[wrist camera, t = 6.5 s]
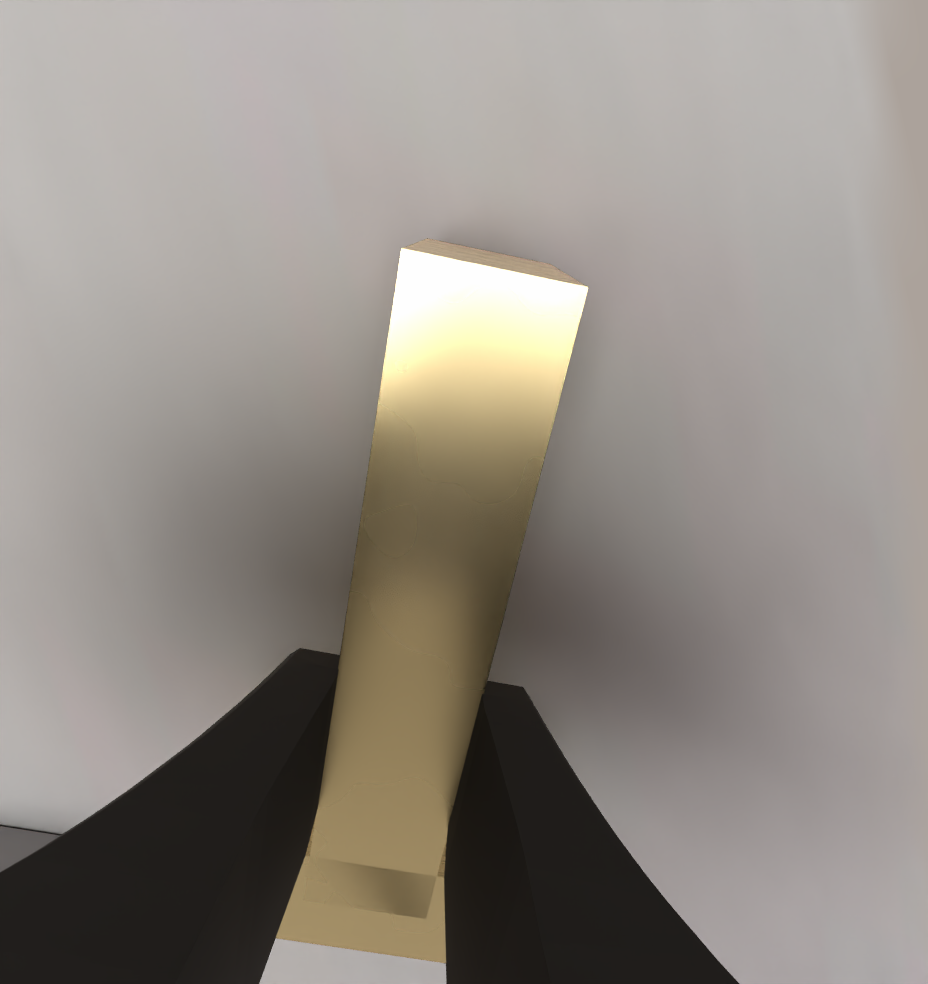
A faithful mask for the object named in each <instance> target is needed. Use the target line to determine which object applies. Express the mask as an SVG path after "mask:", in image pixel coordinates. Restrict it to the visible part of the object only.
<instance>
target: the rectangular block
mask: <svg viewBox="0 0 928 984" xmlns="http://www.w3.org/2000/svg"><path fill="white" fill-rule="evenodd" d="M587 291H588V287H587V286H585V285H584V284H582V283H580V282H579V281H577V280H575V279H574V278H572V277H570V276H569V275H567V274H565V273H564V272H562V271H560V270H559V269H557V268H556V267H554V266H552V265H551V264H547V263H542V262H538V261H533V260H528V259H523V258H519V257H514V256H509V255H504V254H500V253H495V252H490V251H485V250H481V249H476V248H471V247H466V246H461V245H457V244H452V243H447V242H442V241H438V240H433V239H428V238H427V239H425V240H422V241H420V242H417V243H414V244H412V245H409V246H406V247H404V248H401V255H400V261H399V268H398V274H397V281H396V288H395V294H394V301H393V308H392V314H391V321H390V327H389V334H388V341H387V347H386V354H385V361H384V367H383V374H382V380H381V387H380V394H379V400H378V407H377V414H376V420H375V427H374V433H373V440H372V447H371V453H370V460H369V467H368V473H367V480H366V486H365V493H364V500H363V506H362V513H361V520H360V526H359V533H358V539H357V546H356V553H355V559H354V566H353V573H352V579H351V586H350V592H349V599H348V606H347V612H346V619H345V626H344V632H343V639H342V645H341V652H340V659H339V665H338V669H339V671H338V678H337V684H336V691H335V698H334V704H333V711H332V717H331V724H330V731H329V737H328V744H327V750H326V757H325V764H324V770H323V777H322V783H321V790H320V797H319V803H318V809H317V813H316V817H315V821H314V825H313V829H312V832H311V836H310V840H309V844H308V848H307V852H306V855H305V858H304V861H303V864H302V866H301V869H300V872H299V875H298V878H297V880H296V883H295V886H294V889H293V891H292V894H291V897H290V900H289V903H288V905H287V908H286V911H285V914H284V916H283V919H282V922H281V925H280V927H279V930H278V933H277V936H276V938H278V939H285V940H292V941H298V942H305V943H312V944H319V945H326V946H332V947H339V948H346V949H353V950H360V951H366V952H373V953H380V954H387V955H394V956H400V957H407V958H414V959H421V960H427V961H434V962H441V963H446V942H445V900H444V870H445V856H446V843H447V831H448V825H449V821H450V817H451V813H452V810H453V806H454V802H455V798H456V794H457V790H458V786H459V782H460V778H461V774H462V771H463V767H464V763H465V759H466V755H467V751H468V747H469V743H470V739H471V735H472V731H473V728H474V724H475V720H476V716H477V712H478V708H479V704H480V700H481V696H482V694H484V691H485V687H486V684H487V680H488V676H489V672H490V668H491V664H492V660H493V656H494V652H495V649H496V645H497V641H498V637H499V633H500V629H501V625H502V621H503V617H504V614H505V610H506V606H507V602H508V598H509V594H510V590H511V586H512V582H513V579H514V575H515V571H516V567H517V563H518V559H519V555H520V551H521V547H522V544H523V540H524V536H525V532H526V528H527V524H528V520H529V516H530V512H531V509H532V505H533V501H534V497H535V493H536V489H537V485H538V481H539V477H540V474H541V470H542V466H543V462H544V458H545V454H546V450H547V446H548V442H549V439H550V435H551V431H552V427H553V423H554V419H555V415H556V411H557V407H558V404H559V400H560V396H561V392H562V388H563V384H564V380H565V376H566V372H567V368H568V365H569V361H570V357H571V353H572V349H573V345H574V341H575V337H576V333H577V330H578V326H579V322H580V318H581V314H582V310H583V306H584V302H585V298H586V295H587Z"/></svg>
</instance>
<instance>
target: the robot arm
mask: <svg viewBox="0 0 928 984" xmlns="http://www.w3.org/2000/svg"><path fill="white" fill-rule="evenodd" d="M339 659H340V655H335V654H330V653H324V652H318V651H312V650H307V649H301V648H300V649H298V650H296V651H295V652H293V653H292V654H290V655H289V656H288V657H287V658H286V659H285V660H284V661H283V662H282V663H281V664H280V665H279V666H278V667H277V668H276V669H275V670H274V671H273V672H272V673H271V674H270V675H269V676H268V677H267V678H266V679H265V680H263V681H262V682H261V683H260V684H259V685H258V686H257V687H256V688H255V689H254V690H253V691H252V692H250V693H249V694H248V695H247V696H246V697H245V698H244V699H243V700H242V701H240V702H239V703H238V704H237V705H236V706H235V707H234V708H232V709H231V710H230V711H229V712H228V713H226V714H225V715H224V716H223V717H222V718H220V719H219V720H218V721H217V722H216V723H215V724H213V725H212V726H211V727H210V728H209V729H207V730H206V731H205V732H204V733H203V734H202V735H200V736H199V737H198V738H197V739H195V740H194V741H193V742H192V743H190V744H189V745H188V746H187V747H185V748H184V749H183V750H181V751H180V752H179V753H177V754H176V755H175V756H173V757H172V758H171V759H169V760H168V761H167V762H165V763H164V764H163V765H161V766H160V767H159V768H157V769H156V770H155V771H153V772H152V773H151V774H149V775H148V776H147V777H145V778H144V779H143V780H142V781H140V782H139V783H138V784H136V785H135V786H133V787H132V788H131V789H129V790H128V791H126V792H125V793H124V794H122V795H121V796H119V797H118V798H116V799H115V800H113V801H112V802H111V803H109V804H108V805H106V806H105V807H103V808H102V809H100V810H99V811H97V812H96V813H94V814H93V815H91V816H90V817H88V818H87V819H85V820H84V821H82V822H81V823H79V824H78V825H76V826H75V827H73V828H71V829H70V830H68V831H67V832H65V833H64V834H62V835H60V836H59V837H57V838H56V839H54V840H53V841H51V842H50V843H48V844H46V845H45V846H43V847H42V848H40V849H38V850H37V851H35V852H33V853H32V854H30V855H28V856H27V857H25V858H23V859H22V860H20V861H18V862H16V863H15V864H13V865H11V866H10V867H8V868H6V869H4V870H3V871H1V872H0V984H259V982H260V979H261V977H262V974H263V971H264V968H265V966H266V963H267V960H268V957H269V955H270V952H271V949H272V946H273V944H274V941H275V938H276V936H277V933H278V930H279V927H280V925H281V922H282V919H283V916H284V914H285V911H286V908H287V905H288V903H289V900H290V897H291V894H292V891H293V889H294V886H295V883H296V880H297V878H298V875H299V872H300V869H301V866H302V864H303V861H304V858H305V855H306V852H307V848H308V844H309V840H310V836H311V832H312V829H313V825H314V821H315V817H316V813H317V809H318V803H319V797H320V790H321V783H322V777H323V770H324V764H325V757H326V750H327V744H328V737H329V731H330V724H331V717H332V711H333V704H334V698H335V691H336V684H337V678H338V671H339V669H338V665H339ZM444 900H445V942H446V978H447V984H739V983H738V982H737V981H736V980H735V979H734V977H733V976H732V975H731V974H730V973H729V972H728V971H727V970H726V969H725V968H724V967H723V966H722V964H721V963H720V962H719V961H718V960H717V959H716V958H715V957H714V955H713V954H712V953H711V952H710V951H709V950H708V948H707V947H706V946H705V945H704V944H703V943H702V941H701V940H700V939H699V938H698V937H697V936H696V934H695V933H694V932H693V931H692V930H691V929H690V928H689V926H688V925H687V924H686V923H685V922H684V921H683V919H682V918H681V917H680V916H679V915H678V914H677V912H676V911H675V910H674V909H673V908H672V907H671V905H670V904H669V903H668V902H667V901H666V899H665V898H664V897H663V896H662V894H661V893H660V892H659V891H658V889H657V888H656V887H655V886H654V884H653V883H652V882H651V881H650V879H649V878H648V877H647V876H646V874H645V873H644V872H643V870H642V869H641V868H640V866H639V865H638V864H637V862H636V861H635V860H634V858H633V857H632V856H631V854H630V853H629V852H628V850H627V849H626V847H625V846H624V845H623V843H622V842H621V841H620V839H619V838H618V837H617V835H616V834H615V832H614V831H613V830H612V828H611V827H610V825H609V824H608V822H607V821H606V820H605V818H604V817H603V815H602V814H601V812H600V811H599V809H598V808H597V806H596V805H595V803H594V802H593V800H592V799H591V797H590V796H589V794H588V793H587V791H586V789H585V788H584V786H583V785H582V783H581V782H580V780H579V779H578V777H577V776H576V774H575V773H574V771H573V769H572V768H571V766H570V765H569V763H568V761H567V760H566V758H565V757H564V755H563V753H562V752H561V750H560V748H559V747H558V745H557V743H556V742H555V740H554V738H553V737H552V735H551V733H550V732H549V730H548V728H547V727H546V725H545V723H544V721H543V720H542V718H541V716H540V715H539V713H538V711H537V709H536V708H535V706H534V704H533V702H532V701H531V699H530V697H529V696H528V694H527V693H526V691H525V690H524V688H523V687H519V686H514V685H508V684H502V683H496V682H491V681H487V684H486V687H485V691H484V694H482V696H481V700H480V704H479V708H478V712H477V716H476V720H475V724H474V728H473V731H472V735H471V739H470V743H469V747H468V751H467V755H466V759H465V763H464V767H463V771H462V774H461V778H460V782H459V786H458V790H457V794H456V798H455V802H454V806H453V810H452V813H451V817H450V821H449V825H448V831H447V843H446V856H445V870H444Z"/></svg>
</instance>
